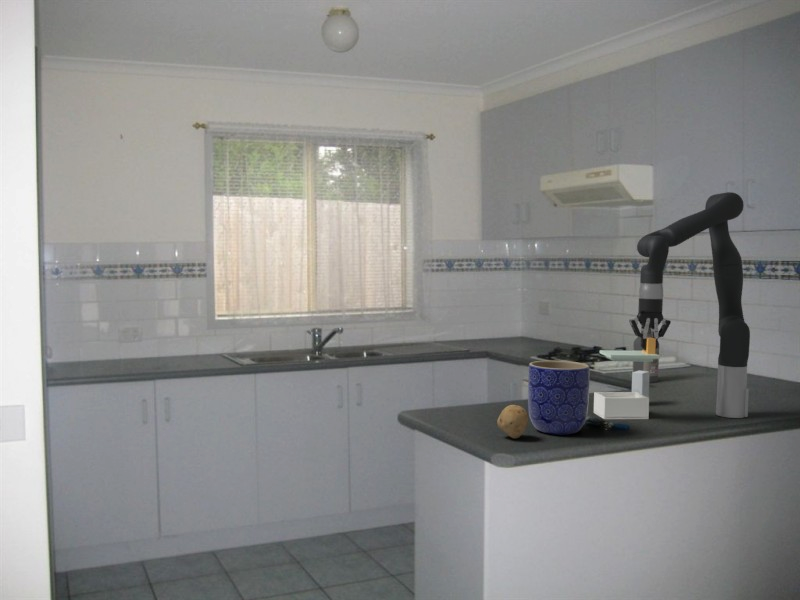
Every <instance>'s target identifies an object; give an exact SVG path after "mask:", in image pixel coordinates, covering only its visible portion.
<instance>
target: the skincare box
mask: <svg viewBox="0 0 800 600" xmlns="http://www.w3.org/2000/svg"><path fill="white" fill-rule="evenodd" d="M631 392H638V393H640V394H642V395H644V396H646V397H648V398H649V399H650V383H649V372H648V371H640V370H639V371H635V372H633V371H632V372H631Z"/></svg>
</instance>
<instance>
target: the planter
mask: <svg viewBox="0 0 800 600" xmlns="http://www.w3.org/2000/svg"><path fill="white" fill-rule="evenodd" d="M590 369H591V368H590V365H588V364H586V363H583V362H578V361H577V362H576V361H571V360H570V361H569V360H538V361H537V360H536V361H532V362H530V363H528V374H527V375H528V381H527V383H528V385H527V387H528V388H527V397H528V398H527V401H528V402H527V406H528V417H529V419H530V421H531V423H532V425H533V427H534V428H535V429H536V430H537V431H539V432H541V433H544V434H549V435H557V436H559V435H560V436H568V435H574V434H576V433H578V432H579V431H580V430H581V429H582V428H583V426H584V425H585V423H586V421H587V418H588V413H589V412H588V411H589V399H590V383H591V382H590V376H591V375H590V373H591V371H590Z"/></svg>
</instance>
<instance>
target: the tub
mask: <svg viewBox="0 0 800 600" xmlns="http://www.w3.org/2000/svg"><path fill="white" fill-rule="evenodd" d="M593 394H594V395H593V414H595V415H596V416H598V417H600V418H602V419H603V420H649V417H650V416H649V415H650V414H649V413H650V397H649V398H648V397H646V396H644V395H642V394H640V393H638V392H632V391H617V392H616V391H603V392H602V391H601V392H600V391H597V392H593Z"/></svg>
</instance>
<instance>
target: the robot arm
mask: <svg viewBox="0 0 800 600" xmlns="http://www.w3.org/2000/svg"><path fill="white" fill-rule="evenodd" d="M744 205H745V204H744V201H743V198H742V196H741V195H739V194H738V193H736V192H733V191H732V192H730V191H729V192H721V193H717V194H712V195H710V196H708V198H707V200H706V202H705V207H704V208H705V209H703V210H701V211H698V212H696V213H693V214H690V215H688V216H685V217H683V218H680V219H678V220H677V221H674V222H673V223H671V224H669V225H667V226H666V227H664V228H662V229H659V230H655V231H653V232H650V233H648V234H646V235H643V236H642V237H641V238H640V239H639V241H638V242H637V245H636V250H637V253H638V254H639V255H640V256H642V257H645V258H648V260H647V264H645V265H642V266H641V268H640V280H639V289H638V310H637V311H638V312H637V315H636V317H634V318H633V319H629V320H628V322H629V324H630V327H631V329H632V331H633V333H634V335H635V336H636V337H640V338H641V348H642V350H646V346H647V339H646V337H647V332H648V328H651V331H652V337H653V338H655V339H656V347H655V350H656V348H657V346H658V342H659V338H663V337H664V336H665V334H666V332H667V331H668V328H669V327H670V325H671V320H669V319H666V318H665V317H664V316H663V306H664V304H663V303H664V302H663V301H664V298H663V297H664V287H663V284H664V269H665V268H666V267H665V266H666V262H667V261H668V255H669V252H670V248H672V247H676V246H678V245H680V244H682V243H684V242H687V241H688V240H689V239H692V238H693V237H695V236H697V235H698V234H701V233H702V232H704V231H706V230H708V232H709V237H710V245H711V246H710V247H711V255H712V257H711V258H712V268H713V279H714V285H715V292H716V296H717V297H716V298H717V302H718V303H717V304H718V335H719V337H720V338H719V352H718V353H719V354H718V356H717V357H718V358H717V378H716V379H717V382H716V385H717V386H716V408H715V414H716V416H719V417H723V418H727V419H728V418H730V419H742V418H743V419H744V418H748V416H749V398H750V397H749V395H750V393H749V391H750V389H749V388H748V387H747V381H748V380H747V378H748V377H747V376H748V362H749V357H750V356H749V355H750V344H751V343H750V341H751V331H750V327H749V326H748V325H749V324H747V323H746V322H745V318H744V313H743V312H744V311H743V305H742V299H743V298H742V296H743V289H744V270H743V268H744V267H743V261H742V260H743V259H742V257H741V254H740V252H739V250H738V248H737V247H736V245H735V243H734V242H733V240H732V238H731V234H730V231H729V221H731V220H734V219H736V218H738V217H739V216H740V215H741V214H742V212H743V211H744ZM638 323H639V324H640V325H641V326H640V328H639V327H638ZM660 324H661V326H660V328H659V325H660Z"/></svg>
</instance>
